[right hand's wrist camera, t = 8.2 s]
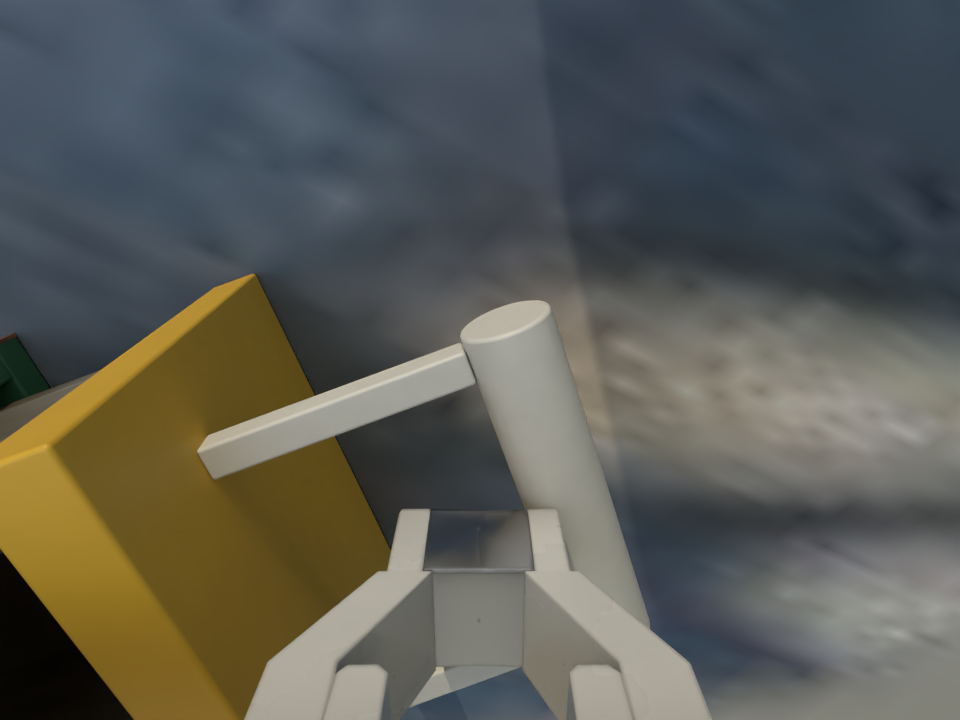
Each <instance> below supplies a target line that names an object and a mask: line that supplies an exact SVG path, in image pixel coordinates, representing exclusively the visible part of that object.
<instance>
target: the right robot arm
mask: <svg viewBox="0 0 960 720" xmlns="http://www.w3.org/2000/svg"><path fill="white" fill-rule="evenodd" d="M451 666H506V667H522V670H523V672H524V673H525V674H526V676H527V677H528V679H529V680H530V681H531V683H532V684H533V686H534V687H535V688H536V690H537V691H538V693H539V694H540V695H541V697H542V698H543V700H544V701H545V703H546V704H547V705H548V707H549V708H550V710H551V711H552V712H553V714H554V715H555V717H556V718H557V719H558V720H713V719H712V717H711V714H710V712H709V709H708V707H707V704H706V702H705V699H704V697H703V694H702V692H701V689H700V687H699V684H698V682H697V679H696V676H695V674H694V671H693V669H692V666H691V664H690V662H688V661H687V660H686V659H685V658H684V657H682V656H681V655H680V654H679V653H678V652H676V651H675V650H674V649H673V648H672V647H670V646H669V645H668V644H667V643H666V642H664V641H663V640H662V639H661V638H660V637H658V636H657V635H656V634H655V633H654V632H652V631H651V630H650V629H649V628H647V627H646V626H645V625H644V624H643V623H641V622H640V621H639V620H638V619H637V618H635V617H634V616H633V615H632V614H631V613H629V612H628V611H627V610H626V609H625V608H623V607H622V606H621V605H620V604H619V603H617V602H616V601H615V600H614V599H612V598H611V597H610V596H609V595H608V594H606V593H605V592H604V591H603V590H602V589H600V588H599V587H598V586H597V585H596V584H594V583H593V582H592V581H591V580H590V579H588V578H587V577H586V576H585V575H584V574H582V573H581V572H580V571H571V570H570V565H569V560H568V555H567V551H566V546H565V541H564V536H563V532H562V527H561V522H560V518H559V513H558V511H557V510H556V509H555V508H552V509H527V510H493V511H489V510H459V509H432V510H430V509H402V510H401V511H400V513H399V517H398V521H397V526H396V531H395V535H394V540H393V545H392V549H391V554H390V559H389V563H388V568H387V571H378V572H377V573H375V574H374V575H373V576H372V577H370V578H369V579H368V580H367V581H366V582H364V583H363V584H362V585H361V586H359V587H358V588H357V589H356V590H355V591H353V592H352V593H351V594H350V595H349V596H347V597H346V598H345V599H344V600H342V601H341V602H340V603H339V604H338V605H336V606H335V607H334V608H333V609H331V610H330V611H329V612H328V613H327V614H325V615H324V616H323V617H322V618H320V619H319V620H318V621H317V622H316V623H314V624H313V625H312V626H311V627H310V628H308V629H307V630H306V631H305V632H303V633H302V634H301V635H300V636H299V637H297V638H296V639H295V640H294V641H292V642H291V643H290V644H289V645H288V646H286V647H285V648H284V649H283V650H281V651H280V652H279V653H278V654H277V655H275V656H274V657H273V658H272V659H271V660H269V661H268V662H267V665H266V667H265V670H264V672H263V675H262V677H261V680H260V682H259V684H258V687H257V689H256V692H255V694H254V697H253V699H252V702H251V704H250V707H249V709H248V711H247V714H246V716H245V719H244V720H400V719H401V718H402V716H403V715H404V714H405V712H406V711H407V710H408V708H409V707H410V705H411V704H412V703H413V701H414V700H415V698H416V697H417V696H418V694H419V693H420V691H421V690H422V689H423V687H424V686H425V685H426V683H427V682H428V680H429V679H430V678H431V676H432V675H433V673H434V672H435V671H436V667H451Z"/></svg>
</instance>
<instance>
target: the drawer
mask: <svg viewBox="0 0 960 720" xmlns="http://www.w3.org/2000/svg"><path fill="white" fill-rule="evenodd" d="M460 339H461V342H462V344H461V343H457V344H455V345H452V346H449V347H447V348H444V349H441V350H438V351H436V352H433V353H430V354H428V355H425V356H422V357H419V358H417V359H414V360H411V361H409V362H406V363H403V364H400V365H398V366H395V367H392V368H390V369H387V370H384V371H381V372H379V373H376V374H373V375H371V376H368V377H365V378H362V379H360V380H357V381H354V382H351V383H349V384H346V385H343V386H341V387H338V388H335V389H332V390H330V391H327V392H324V393H322V394H319V395H316V396H315V395H314V393H313V391H312V389H311V387H310V385H309V383H308V381H307V378H306V376H305V374H304V372H303V370H302V368H301V366H300V364H299V362H298V360H297V358H296V356H295V354H294V352H293V350H292V348H291V346H290V344H289V342H288V340H287V338H286V336H285V334H284V332H283V329H282V327H281V325H280V323H279V321H278V319H277V317H276V315H275V313H274V311H273V309H272V307H271V305H270V303H269V301H268V299H267V297H266V295H265V293H264V291H263V289H262V287H261V285H260V283H259V280H258V278H257V276H256V275H255V274H250V275H247V276H245V277H242V278H239V279H237V280H234V281H231V282H228V283H226V284H223V285H220V286H218V287H215V288H213V289H212V290H210V291H209V292H208V293H206V294H205V295H203V296H202V297H201V298H199V299H198V300H197V301H195V302H194V303H192V304H191V305H190V306H188V307H187V308H186V309H184V310H183V311H181V312H180V313H179V314H177V315H176V316H175V317H173V318H172V319H170V320H169V321H168V322H166V323H165V324H164V325H162V326H161V327H159V328H158V329H157V330H155V331H154V332H153V333H151V334H150V335H148V336H147V337H146V338H144V339H143V340H142V341H140V342H139V343H137V344H136V345H135V346H133V347H132V348H130V349H129V350H128V351H126V352H125V353H124V354H122V355H121V356H119V357H118V358H117V359H115V360H114V361H113V362H111V363H110V364H108V365H107V366H106V367H104V368H103V369H102V370H99V371H97V372H94V373H91V374H89V375H86V376H83V377H80V378H78V379H75V380H72V381H70V382H67V383H64V384H62V385H59V386H56V387H53V388H51V389H48V390H45V391H43V392H40V393H37V394H34V395H32V396H29V397H26V398H24V399H21V400H18V401H15V402H13V403H10V404H7V405H5V406H2V407H0V720H244V719H245V716H246V714H247V711H248V709H249V707H250V704H251V702H252V699H253V697H254V694H255V692H256V689H257V687H258V684H259V682H260V680H261V677H262V675H263V672H264V670H265V667H266V665H267V662H268V661H269V660H271V659H272V658H273V657H274V656H275V655H277V654H278V653H279V652H280V651H281V650H283V649H284V648H285V647H286V646H288V645H289V644H290V643H291V642H292V641H294V640H295V639H296V638H297V637H299V636H300V635H301V634H302V633H303V632H305V631H306V630H307V629H308V628H310V627H311V626H312V625H313V624H314V623H316V622H317V621H318V620H319V619H320V618H322V617H323V616H324V615H325V614H327V613H328V612H329V611H330V610H331V609H333V608H334V607H335V606H336V605H338V604H339V603H340V602H341V601H342V600H344V599H345V598H346V597H347V596H349V595H350V594H351V593H352V592H353V591H355V590H356V589H357V588H358V587H359V586H361V585H362V584H363V583H364V582H366V581H367V580H368V579H369V578H370V577H372V576H373V575H374V574H375V573H377V572H378V571H387V568H388V563H389V559H390V554H391V550H390V548H389V546H388V544H387V542H386V540H385V538H384V536H383V534H382V532H381V530H380V527H379V525H378V523H377V521H376V519H375V517H374V515H373V513H372V511H371V509H370V507H369V505H368V503H367V501H366V499H365V497H364V495H363V493H362V491H361V489H360V487H359V485H358V483H357V481H356V478H355V476H354V474H353V472H352V470H351V468H350V466H349V464H348V462H347V460H346V458H345V456H344V454H343V452H342V450H341V448H340V446H339V444H338V442H337V440H336V438H335V436H336V435H339V434H342V433H344V432H347V431H350V430H353V429H355V428H358V427H361V426H363V425H366V424H369V423H372V422H374V421H377V420H380V419H382V418H385V417H388V416H391V415H393V414H396V413H399V412H401V411H404V410H407V409H410V408H412V407H415V406H418V405H420V404H423V403H426V402H429V401H431V400H434V399H437V398H440V397H442V396H445V395H448V394H450V393H453V392H456V391H459V390H461V389H464V388H467V387H469V386H472V385H474V384H475V381H476V382H477V384H478V387H479V390H480V392H481V395H482V398H483V400H484V403H485V406H486V408H487V411H488V414H489V416H490V419H491V421H492V424H493V427H494V429H495V432H496V435H497V437H498V440H499V443H500V445H501V448H502V451H503V453H504V456H505V458H506V461H507V464H508V466H509V469H510V472H511V474H512V477H513V480H514V482H515V485H516V488H517V490H518V493H519V496H520V498H521V501H522V503H523V506H524V509H525V510H527V509H552V508H555V509H556V510H557V511H558V513H559V518H560V522H561V527H562V532H563V536H564V541H565V546H566V551H567V555H568V560H569V565H570V570H571V571H580V572H581V573H582V574H584V575H585V576H586V577H587V578H588V579H590V580H591V581H592V582H593V583H594V584H596V585H597V586H598V587H599V588H600V589H602V590H603V591H604V592H605V593H606V594H608V595H609V596H610V597H611V598H612V599H614V600H615V601H616V602H617V603H619V604H620V605H621V606H622V607H623V608H625V609H626V610H627V611H628V612H629V613H631V614H632V615H633V616H634V617H635V618H637V619H638V620H639V621H640V622H641V623H643V624H644V625H645V626H646V627H647V628H649V629H650V622H649V618H648V615H647V611H646V608H645V605H644V602H643V599H642V595H641V592H640V589H639V586H638V583H637V579H636V576H635V573H634V570H633V567H632V564H631V560H630V557H629V554H628V551H627V548H626V544H625V541H624V538H623V535H622V532H621V528H620V525H619V522H618V519H617V516H616V512H615V509H614V506H613V503H612V500H611V496H610V493H609V490H608V487H607V484H606V480H605V477H604V474H603V471H602V468H601V464H600V461H599V458H598V455H597V452H596V449H595V445H594V442H593V439H592V436H591V433H590V429H589V426H588V423H587V420H586V417H585V413H584V410H583V407H582V404H581V401H580V397H579V394H578V391H577V388H576V385H575V381H574V378H573V375H572V372H571V369H570V365H569V362H568V359H567V356H566V353H565V350H564V346H563V343H562V340H561V337H560V334H559V330H558V327H557V324H556V321H555V318H554V314H553V311H552V308H551V306H550V305H549V304H548V303H547V302H544V301H539V300H531V301H522V302H516V303H512V304H508V305H505V306H502V307H499V308H496V309H494V310H491V311H489V312H487V313H485V314H483V315H481V316H479V317H477V318H476V319H474V320H473V321H471V322H470V323H469V324H468V325H466V326H465V327H464V328H463V330H462V331H461V335H460ZM475 379H476V380H475ZM516 668H519V667H506V666H451V667H436V671H435V672H434V673H433V675H432V676H431V678H430V679H429V680H428V682H427V683H426V685H425V686H424V687H423V689H422V690H421V691H420V693H419V694H418V696H417V697H416V698H415V700H414V701H413V703H412V704H411V705H410V707H412V706H415V705H418V704H420V703H423V702H426V701H429V700H431V699H434V698H437V697H440V696H442V695H445V694H448V693H451V692H453V691H456V690H459V689H462V688H464V687H467V686H470V685H473V684H475V683H478V682H481V681H484V680H486V679H489V678H492V677H494V676H497V675H500V674H503V673H505V672H508V671H511V670H514V669H516Z"/></svg>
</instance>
